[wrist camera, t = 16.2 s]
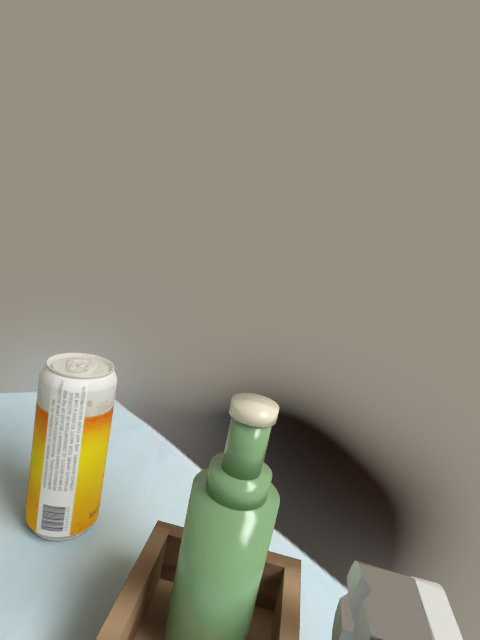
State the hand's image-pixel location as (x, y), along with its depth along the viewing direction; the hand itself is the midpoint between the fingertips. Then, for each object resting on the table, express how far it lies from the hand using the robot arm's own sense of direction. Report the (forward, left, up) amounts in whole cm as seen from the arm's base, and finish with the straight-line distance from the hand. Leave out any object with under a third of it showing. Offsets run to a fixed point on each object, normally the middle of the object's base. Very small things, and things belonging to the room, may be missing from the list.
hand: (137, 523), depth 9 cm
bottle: (-5, +16, -22) cm, 28 cm away
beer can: (-22, +20, -23) cm, 37 cm away
